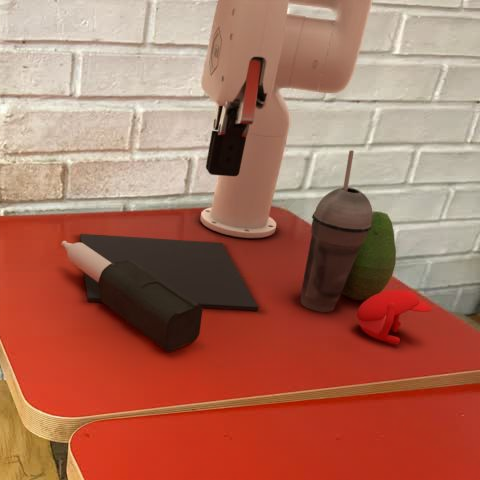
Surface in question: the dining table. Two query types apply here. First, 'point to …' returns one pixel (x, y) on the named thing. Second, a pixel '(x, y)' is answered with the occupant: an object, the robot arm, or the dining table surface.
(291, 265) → the dining table surface
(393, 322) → the red animal figurine
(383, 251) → the fruit
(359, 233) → the beverage cup
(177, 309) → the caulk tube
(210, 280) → the mat
